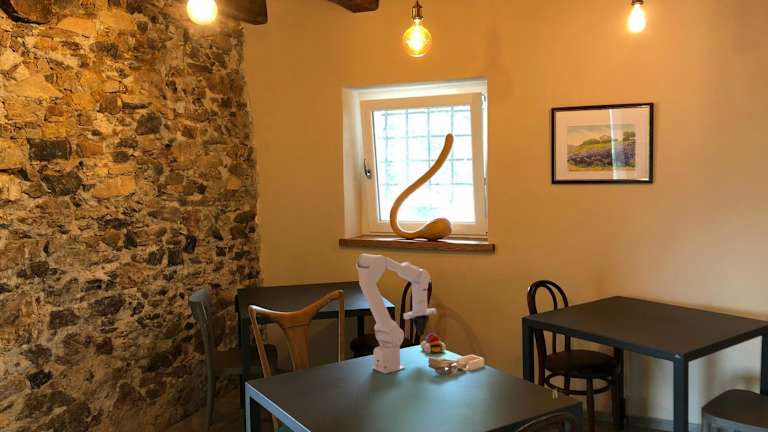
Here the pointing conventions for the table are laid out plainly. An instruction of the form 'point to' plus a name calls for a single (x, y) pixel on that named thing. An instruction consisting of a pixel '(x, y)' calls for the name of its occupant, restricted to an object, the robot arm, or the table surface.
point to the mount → (450, 370)
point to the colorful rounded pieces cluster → (433, 344)
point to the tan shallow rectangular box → (471, 362)
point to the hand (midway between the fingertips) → (420, 334)
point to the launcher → (444, 363)
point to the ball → (472, 358)
